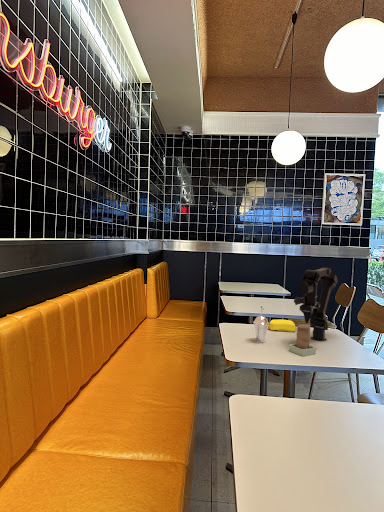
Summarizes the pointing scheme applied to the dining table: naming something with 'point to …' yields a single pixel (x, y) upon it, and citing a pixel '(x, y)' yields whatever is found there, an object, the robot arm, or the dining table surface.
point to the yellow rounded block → (282, 325)
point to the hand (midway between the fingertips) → (309, 321)
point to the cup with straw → (260, 327)
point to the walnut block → (303, 337)
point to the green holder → (302, 352)
